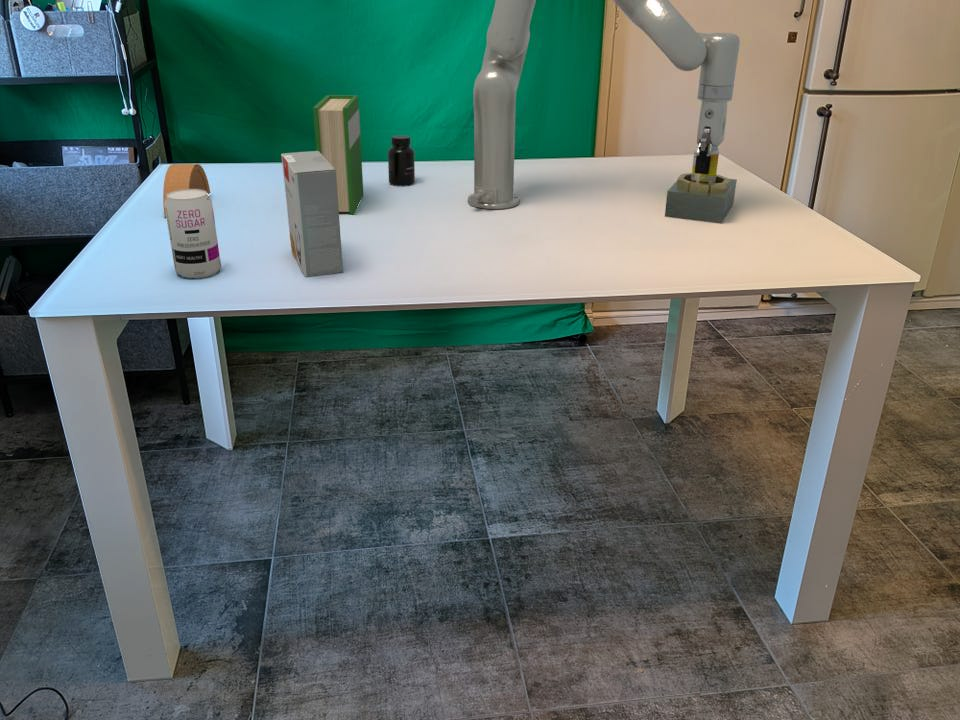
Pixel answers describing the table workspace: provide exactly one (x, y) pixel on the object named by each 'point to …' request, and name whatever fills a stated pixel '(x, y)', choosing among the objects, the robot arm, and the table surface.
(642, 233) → the table surface
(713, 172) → the supplement bottle
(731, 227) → the table surface
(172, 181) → the arch
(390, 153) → the supplement bottle
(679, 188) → the grey block with ring
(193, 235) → the supplement can
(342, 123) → the hardback book
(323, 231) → the hard drive box
